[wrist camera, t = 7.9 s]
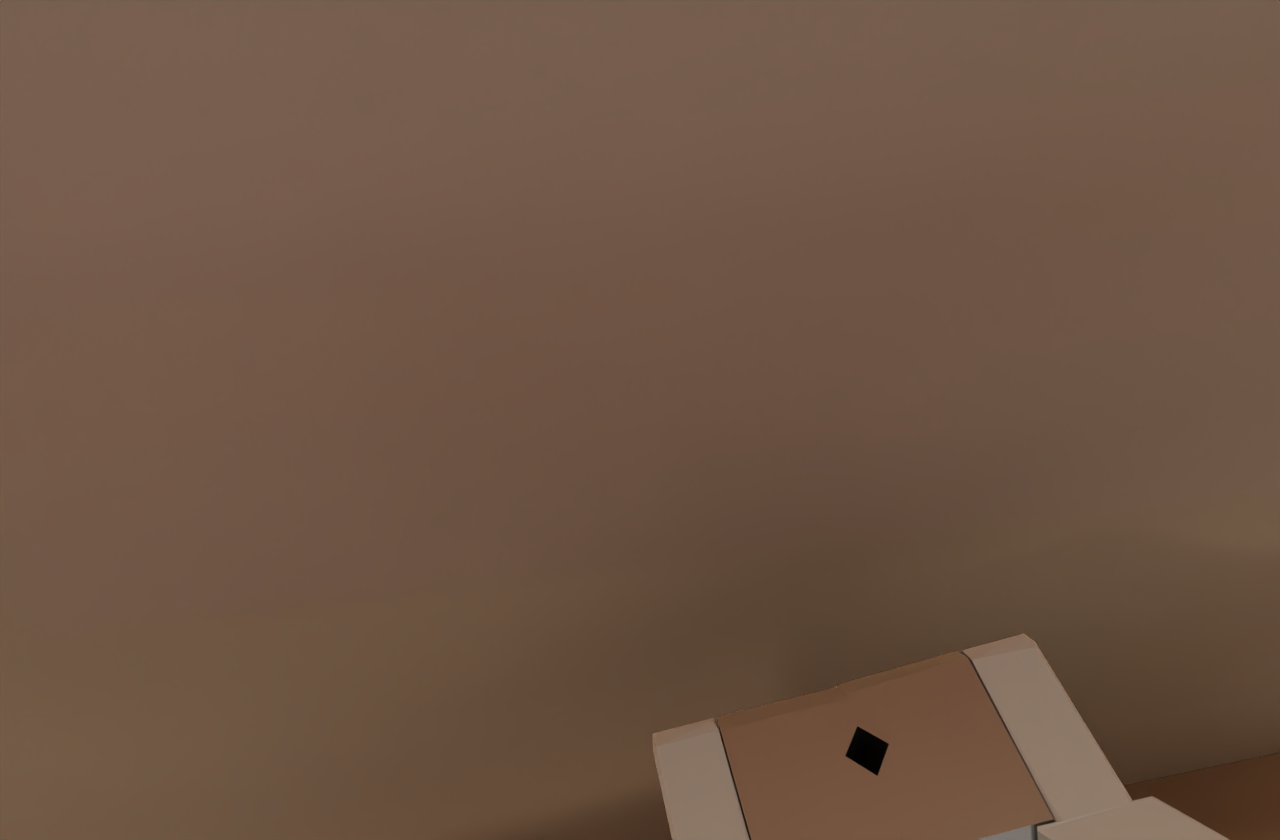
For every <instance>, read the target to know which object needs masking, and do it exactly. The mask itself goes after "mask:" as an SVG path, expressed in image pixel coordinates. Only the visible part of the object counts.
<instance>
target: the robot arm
mask: <svg viewBox="0 0 1280 840" xmlns="http://www.w3.org/2000/svg"><path fill="white" fill-rule="evenodd" d="M716 718H717V722H718V726H719V730H720V733H719V730H718V727H717V724H716V721H715V718H711V719H707V720H703V721H699V722H695V723H691V724H687V725H683V726H679V727H675V728H671V729H667V730H664V731H660V732H656V733H652V736H653V753H654V758H655V762H656V767H657V772H658V776H659V781H660V786H661V790H662V795H663V800H664V804H665V809H666V814H667V818H668V823H669V828H670V832H671V837H672V840H1230V839H1228V838H1226V837H1224V836H1222V835H1221V834H1219V833H1217V832H1215V831H1214V830H1212V829H1210V828H1208V827H1207V826H1205V825H1203V824H1201V823H1199V822H1198V821H1196V820H1194V819H1192V818H1191V817H1189V816H1187V815H1185V814H1184V813H1182V812H1180V811H1178V810H1176V809H1175V808H1173V807H1171V806H1169V805H1168V804H1166V803H1164V802H1162V801H1161V800H1159V799H1157V798H1155V797H1153V796H1150V797H1146V798H1142V799H1137V800H1133V801H1132V799H1131V797H1130V796H1129V794H1128V792H1127V791H1126V789H1125V787H1124V786H1123V784H1122V783H1121V781H1120V779H1119V778H1118V776H1117V774H1116V773H1115V771H1114V770H1113V768H1112V766H1111V765H1110V763H1109V761H1108V760H1107V758H1106V756H1105V755H1104V753H1103V752H1102V750H1101V748H1100V747H1099V745H1098V743H1097V742H1096V740H1095V739H1094V737H1093V735H1092V734H1091V732H1090V730H1089V729H1088V727H1087V725H1086V724H1085V722H1084V721H1083V719H1082V717H1081V716H1080V714H1079V712H1078V711H1077V709H1076V708H1075V706H1074V704H1073V703H1072V701H1071V699H1070V698H1069V696H1068V694H1067V693H1066V691H1065V690H1064V688H1063V686H1062V685H1061V683H1060V681H1059V680H1058V678H1057V677H1056V675H1055V673H1054V672H1053V670H1052V668H1051V667H1050V665H1049V663H1048V662H1047V660H1046V659H1045V657H1044V655H1043V654H1042V652H1041V650H1040V649H1039V647H1038V645H1037V644H1036V642H1035V641H1034V640H1032V639H1031V638H1029V637H1028V636H1027V635H1025V634H1024V633H1023V634H1020V635H1016V636H1012V637H1009V638H1005V639H1001V640H998V641H994V642H990V643H987V644H983V645H979V646H976V647H972V648H968V649H965V650H962V651H961V652H960V653H959V652H958V651H954V652H950V653H947V654H943V655H940V656H936V657H933V658H929V659H926V660H922V661H919V662H915V663H912V664H908V665H905V666H901V667H898V668H894V669H891V670H887V671H884V672H880V673H877V674H873V675H870V676H866V677H863V678H859V679H856V680H852V681H849V682H845V683H842V684H838V685H837V687H835V688H831V689H827V690H823V691H818V692H814V693H810V694H806V695H802V696H798V697H794V698H790V699H786V700H782V701H778V702H773V703H769V704H765V705H761V706H757V707H753V708H749V709H745V710H741V711H737V712H733V713H728V714H724V715H720V716H716ZM720 734H721V737H720ZM721 738H722V740H721ZM722 742H723V744H722ZM723 746H724V747H723ZM724 750H725V751H724Z"/></svg>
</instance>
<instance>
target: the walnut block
mask: <svg viewBox="0 0 1280 840" xmlns="http://www.w3.org/2000/svg"><path fill="white" fill-rule="evenodd" d="M1124 787H1125V789H1126V791H1127V792H1128V794H1129V796H1130V797H1131V799H1132V801H1133V800H1137V799H1142V798H1146V797H1150V796H1153V797H1155V798H1157V799H1159V800H1161V801H1162V802H1164V803H1166V804H1168V805H1169V806H1171V807H1173V808H1175V809H1176V810H1178V811H1180V812H1182V813H1184V814H1185V815H1187V816H1189V817H1191V818H1192V819H1194V820H1196V821H1198V822H1199V823H1201V824H1203V825H1205V826H1207V827H1208V828H1210V829H1212V830H1214V831H1215V832H1217V833H1219V834H1221V835H1222V836H1224V837H1226V838H1228V839H1230V840H1280V753H1277V754H1272V755H1267V756H1263V757H1258V758H1253V759H1248V760H1244V761H1239V762H1234V763H1229V764H1225V765H1220V766H1215V767H1210V768H1206V769H1201V770H1196V771H1191V772H1187V773H1182V774H1177V775H1172V776H1168V777H1163V778H1158V779H1153V780H1149V781H1144V782H1139V783H1134V784H1130V785H1125V786H1124Z"/></svg>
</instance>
